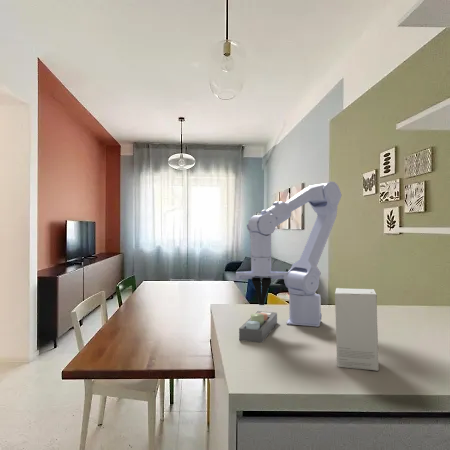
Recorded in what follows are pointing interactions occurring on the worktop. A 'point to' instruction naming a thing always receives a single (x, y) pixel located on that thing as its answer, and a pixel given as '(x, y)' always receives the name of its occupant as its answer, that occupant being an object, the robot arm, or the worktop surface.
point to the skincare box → (356, 328)
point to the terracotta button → (264, 316)
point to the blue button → (253, 325)
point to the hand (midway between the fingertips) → (261, 304)
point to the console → (262, 332)
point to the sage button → (258, 318)
